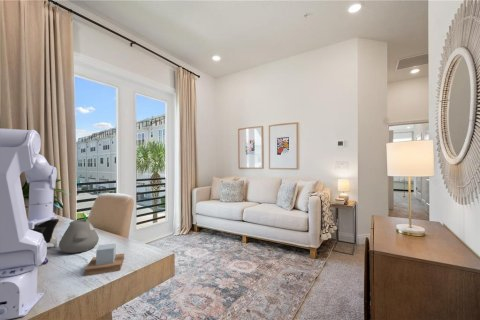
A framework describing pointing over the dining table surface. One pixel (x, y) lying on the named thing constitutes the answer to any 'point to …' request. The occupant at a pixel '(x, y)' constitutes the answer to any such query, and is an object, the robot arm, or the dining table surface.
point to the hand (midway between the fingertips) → (39, 246)
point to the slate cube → (105, 254)
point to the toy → (78, 237)
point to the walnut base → (104, 266)
